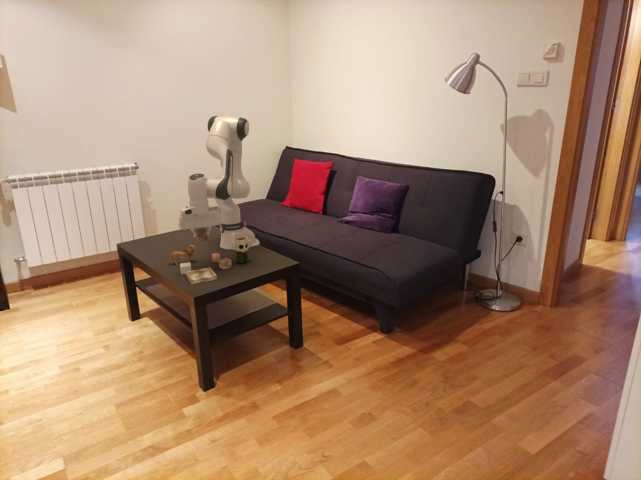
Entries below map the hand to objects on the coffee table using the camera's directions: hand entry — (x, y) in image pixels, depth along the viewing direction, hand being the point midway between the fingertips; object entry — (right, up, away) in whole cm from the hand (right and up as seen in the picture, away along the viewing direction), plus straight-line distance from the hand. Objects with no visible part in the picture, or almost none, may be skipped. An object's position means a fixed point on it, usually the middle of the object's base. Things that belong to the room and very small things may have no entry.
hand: (201, 235), depth 236 cm
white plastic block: (-8, -18, +3) cm, 20 cm away
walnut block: (0, -2, +1) cm, 2 cm away
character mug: (+18, -14, +15) cm, 27 cm away
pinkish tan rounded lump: (+4, -13, +16) cm, 21 cm away
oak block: (+10, -16, +8) cm, 20 cm away
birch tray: (+1, -20, -4) cm, 20 cm away
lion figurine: (-13, -14, +15) cm, 24 cm away
